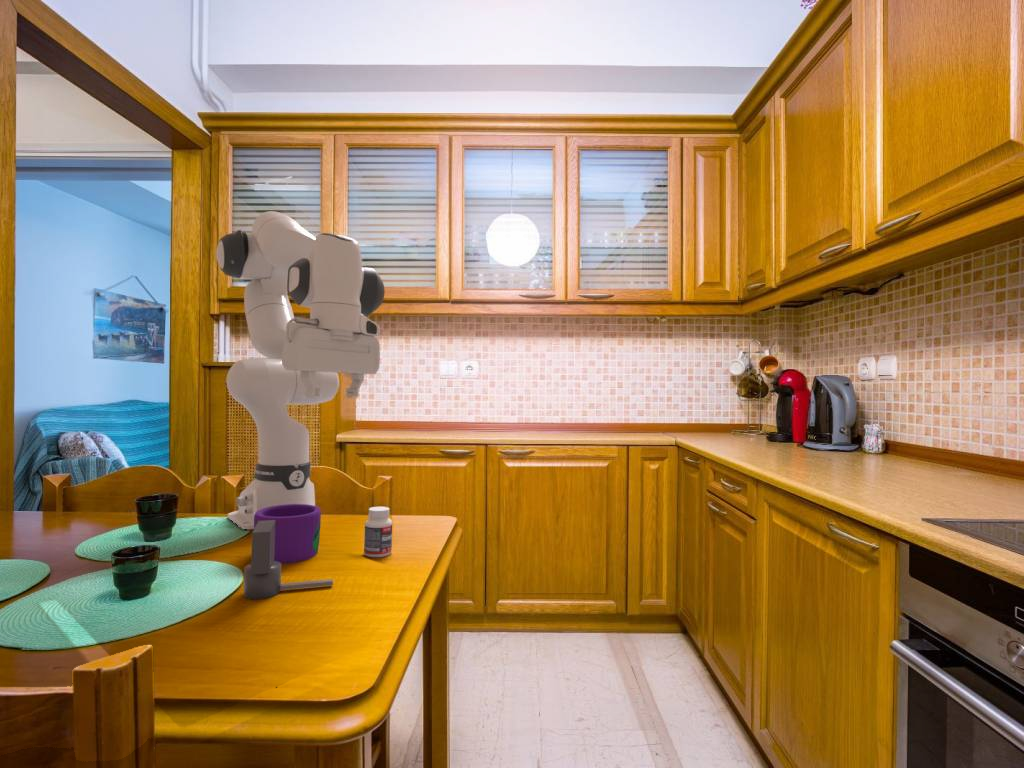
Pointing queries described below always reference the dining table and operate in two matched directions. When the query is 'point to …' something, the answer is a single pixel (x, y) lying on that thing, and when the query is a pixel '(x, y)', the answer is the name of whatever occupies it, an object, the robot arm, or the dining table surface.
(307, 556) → the mug
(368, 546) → the pill bottle
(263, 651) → the dining table surface
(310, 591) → the dining table surface
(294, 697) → the dining table surface
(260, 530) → the grey block with rod
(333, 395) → the robot arm
